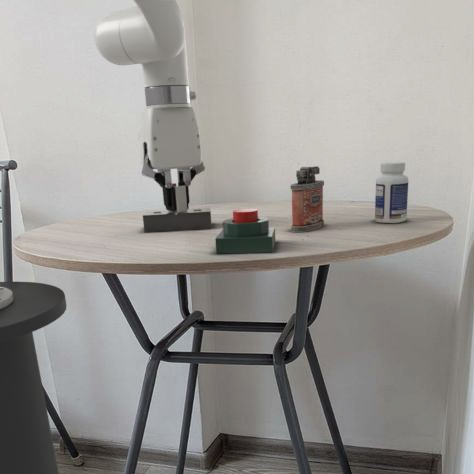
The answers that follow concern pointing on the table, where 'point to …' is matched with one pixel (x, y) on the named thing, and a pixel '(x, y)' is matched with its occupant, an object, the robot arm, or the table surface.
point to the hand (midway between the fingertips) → (177, 208)
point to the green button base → (245, 237)
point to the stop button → (245, 215)
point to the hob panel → (177, 220)
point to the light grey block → (180, 198)
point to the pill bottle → (391, 193)
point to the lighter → (307, 200)
